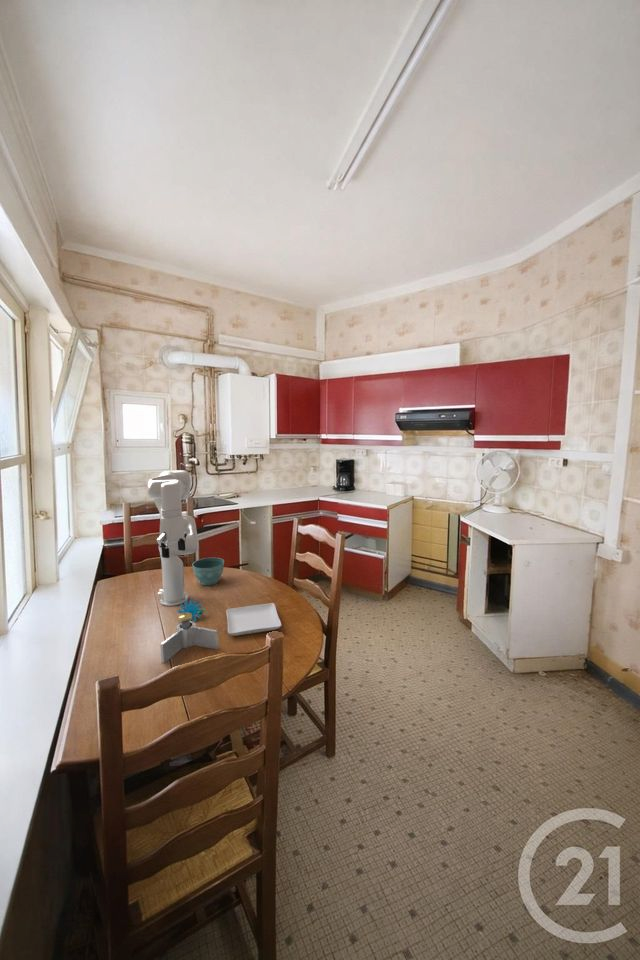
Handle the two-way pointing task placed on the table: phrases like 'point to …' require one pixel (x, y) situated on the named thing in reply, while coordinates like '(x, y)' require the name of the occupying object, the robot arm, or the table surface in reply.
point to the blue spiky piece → (192, 609)
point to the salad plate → (252, 619)
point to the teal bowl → (208, 570)
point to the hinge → (188, 640)
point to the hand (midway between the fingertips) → (174, 553)
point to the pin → (185, 619)
